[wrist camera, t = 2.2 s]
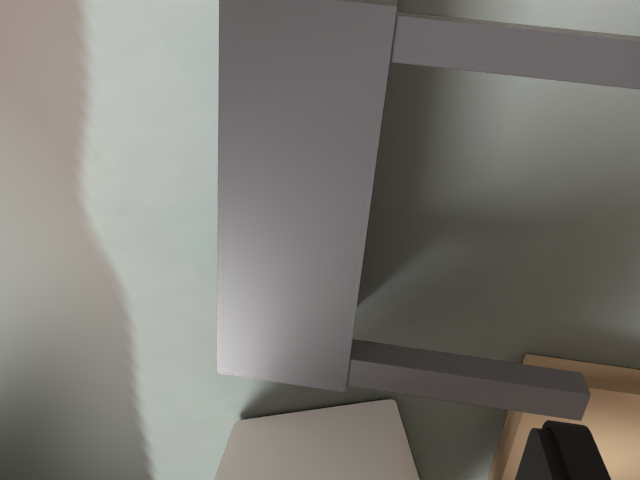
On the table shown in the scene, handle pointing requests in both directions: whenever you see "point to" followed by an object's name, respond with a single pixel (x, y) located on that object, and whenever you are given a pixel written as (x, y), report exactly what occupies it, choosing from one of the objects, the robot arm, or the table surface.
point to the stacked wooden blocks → (584, 419)
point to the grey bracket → (353, 188)
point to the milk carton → (321, 445)
